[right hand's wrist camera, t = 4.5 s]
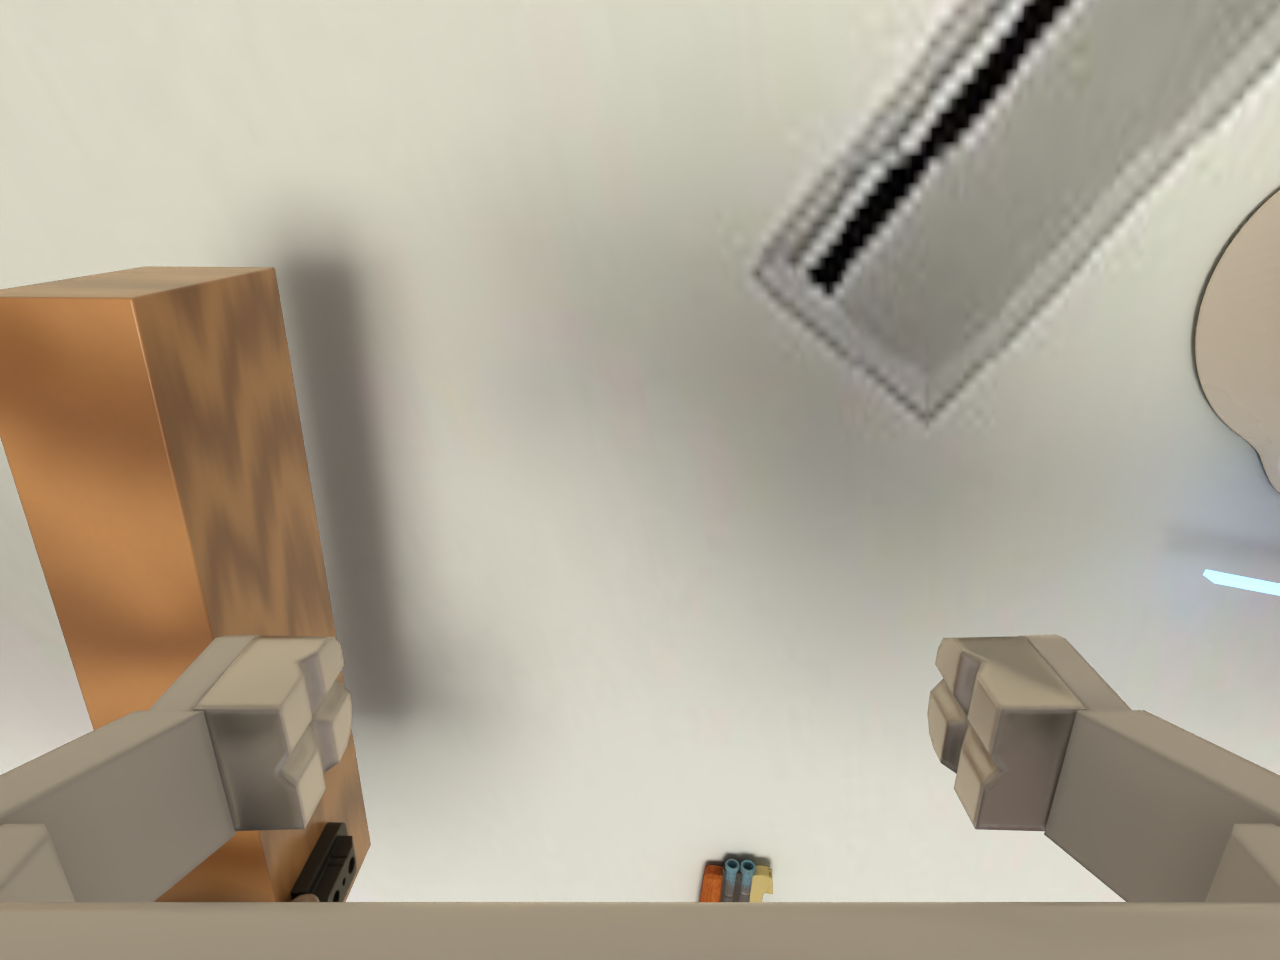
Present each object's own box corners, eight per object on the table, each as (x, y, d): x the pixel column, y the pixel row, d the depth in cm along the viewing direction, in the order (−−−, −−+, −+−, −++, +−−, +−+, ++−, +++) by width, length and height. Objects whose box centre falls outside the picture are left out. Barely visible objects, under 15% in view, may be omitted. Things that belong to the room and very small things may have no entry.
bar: (144, 266, 27) (-47, 296, 20) (275, 266, 27) (131, 297, 20) (275, 841, 37) (180, 1004, 30) (371, 844, 37) (299, 1007, 30)
